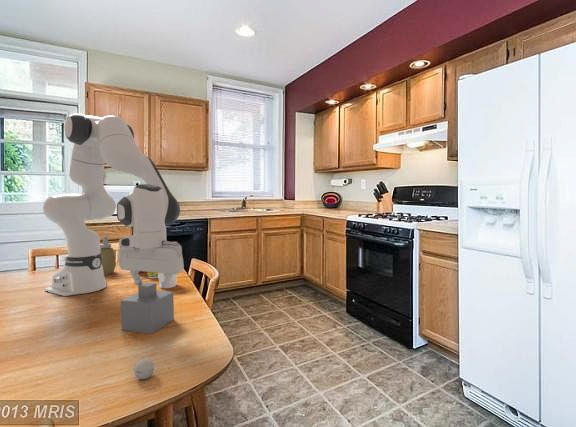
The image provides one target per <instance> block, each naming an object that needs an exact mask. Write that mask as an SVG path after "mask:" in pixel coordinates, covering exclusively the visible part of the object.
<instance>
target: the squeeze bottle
mask: <svg viewBox="0 0 576 427" xmlns="http://www.w3.org/2000/svg"><path fill="white" fill-rule="evenodd" d="M100 253H102V262H101V264H102V266H103V271H104V275H110V274H113V273H114V272H115V269H116V266H117V263H116V257H115V251H114V248H113V247H112V244H111V242H110V243H109V240H108V237H107V235H106V236H103V239H102V243H100Z"/></svg>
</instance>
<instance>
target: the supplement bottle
mask: <svg viewBox="0 0 576 427" xmlns="http://www.w3.org/2000/svg"><path fill="white" fill-rule="evenodd" d="M147 278H148V279H159V277H158V273H154V272H147Z"/></svg>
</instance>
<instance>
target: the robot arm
mask: <svg viewBox="0 0 576 427" xmlns="http://www.w3.org/2000/svg"><path fill="white" fill-rule="evenodd" d="M63 128H64V133H65V137H66V139H67V140H68V141H69V142H70V143H73V146H72V151H71V158H70V159H71V160H70V166H69V174H68V175H69V178H70V180H71V182H73V183H75V184H76V185H77V186H80V187H81V193H60V194H55V195H51V196H48V197H47V198H46V199H45V201H44V203H43V206H42V210H43V214H44V215H45V217H46V219H48V220H49V221H50V222H52V223H55V225H57V226H58V227H59V228H60V229H61V230H62V232H63V234H64V237H65V239H66V246H67V255H66V257H63V258H62V260H63V261H65V262H64V266H63V267H61V269H58V271H57V272H55V273H54V274H53V275H52V280H51V283H52V284H51V285H50V286H47V287H46V288H45V289H44V291H45V292H47V291H48V293H51V294H55V295H59V296H63V297H68V296H73V295H74V296H75V295H81V294H82V295H83V294H89V293H94V292H97V291H100V290H103V289H105V288H107V283H108V282H107V279H105V274H104V271H103V266H102V264H101V262H102V253H100V244H101V240H100V235H99V233H98V232H96V231H95V230H94V229H93V230H92V229H89V228H88V227H87V224H86V221H96V220H97V221H99V220H102V219H106V218H110V217H113V215H115V214H114V213H115V212H116V216H117V220H118V222H120V224H122V225H123V226H125V227H133V232H132V233H133V234H131V235H129V236H126V237H123V238H122V237H121V238H120V239H119V240H118V245H119V249H118V266H119V268H120V269H121V270H123V271H130V272H129V273H130V276H131V277H132V279H133V285H135V286H139V285H141V284H143V278H142V277H141V276H140V273H138V272H139V271H144V272H143V273H148V272H154V273H164V277H166V278H165V280H164V281H163V282H161V285H162V286H161V287H162V288H161V289H169V288H168V287H169V281H170V279H171V277H172V276H173V274H177V275H178V274H180V273H182V271H183V270H184V268H185V267H184V258H183V247H182V245H180V243H179V242H178V241H169V240H167V226H172V224H175V222H176V221H177V219H178V218H179V216H180V214H181V208H180V204H179V202H178V200H177V199H176V197H175V196H174V195H173V194H172V192H171V191H170V190H169V188H168V186H167V184H166V182H165V181H164V179H163V177H162V174H160V172H159V170H158V168H157V166H156V165H155V163H154V161H153V160H152V159H151V158H150V157H148V156H147V155H145V153H143V152H142V151H141V150H140V148H139V147H138V145H137V143H136V141H135V133H134V130H133V128H132V126H130V124H127V123H126V120H123V118H121V117H119V116H117V115H106V116H102V117H99V116H95V115H94V116H93V115H87V114H86V115H85V114H83V113H72V114H70V115H69V116H67V117H66V120H65V123H64V127H63ZM106 164H107V166H108V167H110V168H112V169H114V170H115V171H118V172H122V173H126V174H129V175H132V176H134V177H137V178H139V179H140V180H142V181H144V182H145V184H143V183H141V184H138V185H135V186H134V188H133V191H132V193H130V194H129V195H127V196H123V197H122V198H121V199H120V200H119V201H118V202H117V204H116V201H115V200H114V199H115V198H113V197H112V196H111V195H110V194H109V193H108V192H107V191H106V188H105V185H104V171H105V165H106ZM63 261H62V262H63Z"/></svg>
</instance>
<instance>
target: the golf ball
mask: <svg viewBox="0 0 576 427" xmlns="http://www.w3.org/2000/svg"><path fill="white" fill-rule="evenodd" d="M154 371H155V364H154V361H153V360H151V359H149V358H142V359H140V360H139V361H137V363H136V364H135V366H134V369H133V372H134V376H135V377H136V378H137V379H140V380H147V379H148V378H150V377H151V376H152V375H153V374H154Z"/></svg>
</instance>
